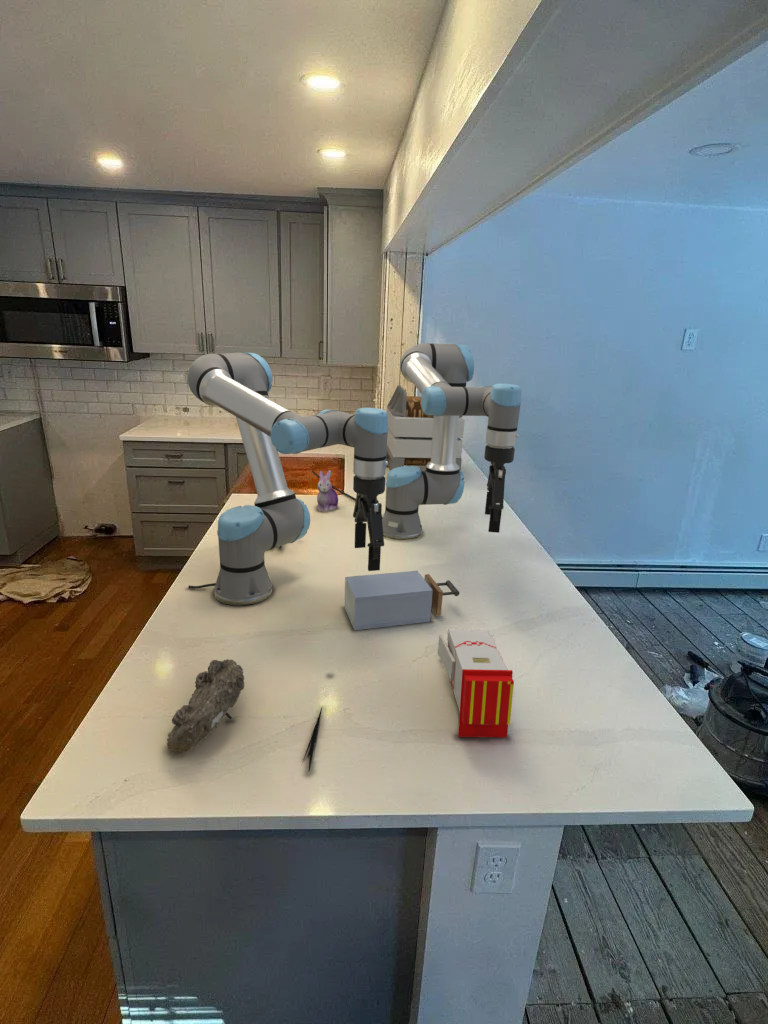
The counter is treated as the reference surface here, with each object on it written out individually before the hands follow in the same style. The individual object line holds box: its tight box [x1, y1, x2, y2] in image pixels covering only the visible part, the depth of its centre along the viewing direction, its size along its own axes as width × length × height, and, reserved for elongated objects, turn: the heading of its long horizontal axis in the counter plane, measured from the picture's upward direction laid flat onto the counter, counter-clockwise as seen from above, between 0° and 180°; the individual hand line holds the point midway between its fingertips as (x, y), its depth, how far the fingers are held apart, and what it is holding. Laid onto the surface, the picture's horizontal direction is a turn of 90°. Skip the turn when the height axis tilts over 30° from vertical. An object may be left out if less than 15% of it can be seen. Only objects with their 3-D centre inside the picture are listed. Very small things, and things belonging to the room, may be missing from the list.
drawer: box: [424, 573, 460, 617], centre depth 147 cm, size 24×10×7 cm, turn 106°
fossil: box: [166, 658, 245, 754], centre depth 106 cm, size 22×10×15 cm
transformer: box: [386, 384, 465, 472], centre depth 268 cm, size 34×33×41 cm
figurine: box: [316, 469, 339, 512], centre depth 219 cm, size 9×10×15 cm
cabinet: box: [344, 570, 433, 631], centre depth 146 cm, size 20×12×9 cm, turn 106°
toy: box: [437, 628, 515, 738], centre depth 117 cm, size 12×13×30 cm
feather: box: [301, 673, 332, 771], centre depth 108 cm, size 2×28×2 cm
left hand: (366, 558), depth 140 cm, fingers open, 13 cm apart
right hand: (491, 522), depth 153 cm, fingers open, 13 cm apart
